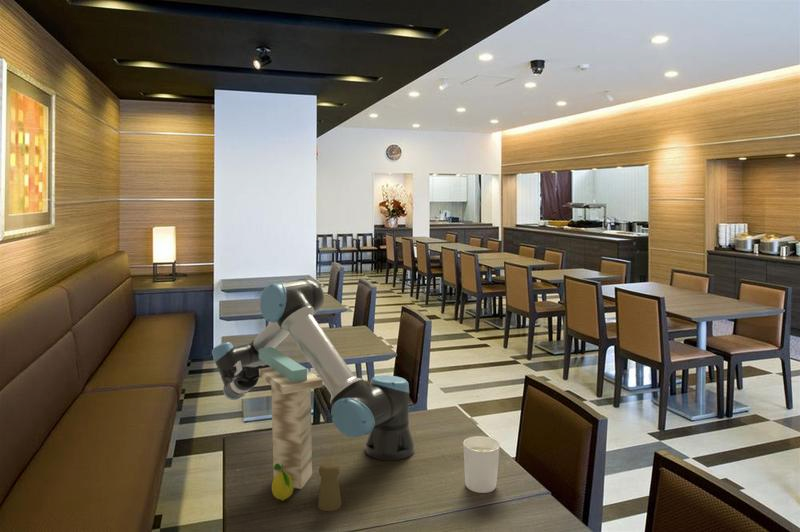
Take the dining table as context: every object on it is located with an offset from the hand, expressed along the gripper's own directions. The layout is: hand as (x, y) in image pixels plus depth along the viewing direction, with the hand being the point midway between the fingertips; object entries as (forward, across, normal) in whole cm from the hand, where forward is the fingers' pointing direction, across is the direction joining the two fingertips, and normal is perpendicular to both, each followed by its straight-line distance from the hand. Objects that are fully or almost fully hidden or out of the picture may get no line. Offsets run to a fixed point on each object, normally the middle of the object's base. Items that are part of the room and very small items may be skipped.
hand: (262, 361), depth 171 cm
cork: (+19, -3, -44) cm, 48 cm away
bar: (+14, 0, -6) cm, 15 cm away
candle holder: (+30, -42, -51) cm, 73 cm away
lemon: (+12, +6, -40) cm, 42 cm away
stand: (+4, 0, -35) cm, 35 cm away
